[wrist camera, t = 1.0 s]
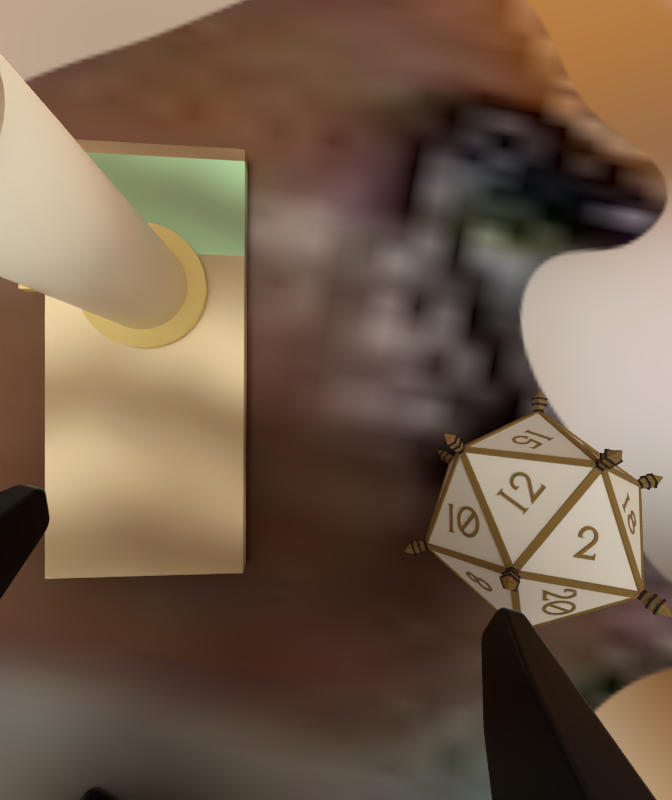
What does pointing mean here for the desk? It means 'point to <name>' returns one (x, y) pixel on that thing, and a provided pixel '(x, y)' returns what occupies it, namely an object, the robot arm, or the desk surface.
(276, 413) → the desk surface
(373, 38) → the desk surface
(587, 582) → the game die
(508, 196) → the desk surface
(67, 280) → the peg
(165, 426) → the board
